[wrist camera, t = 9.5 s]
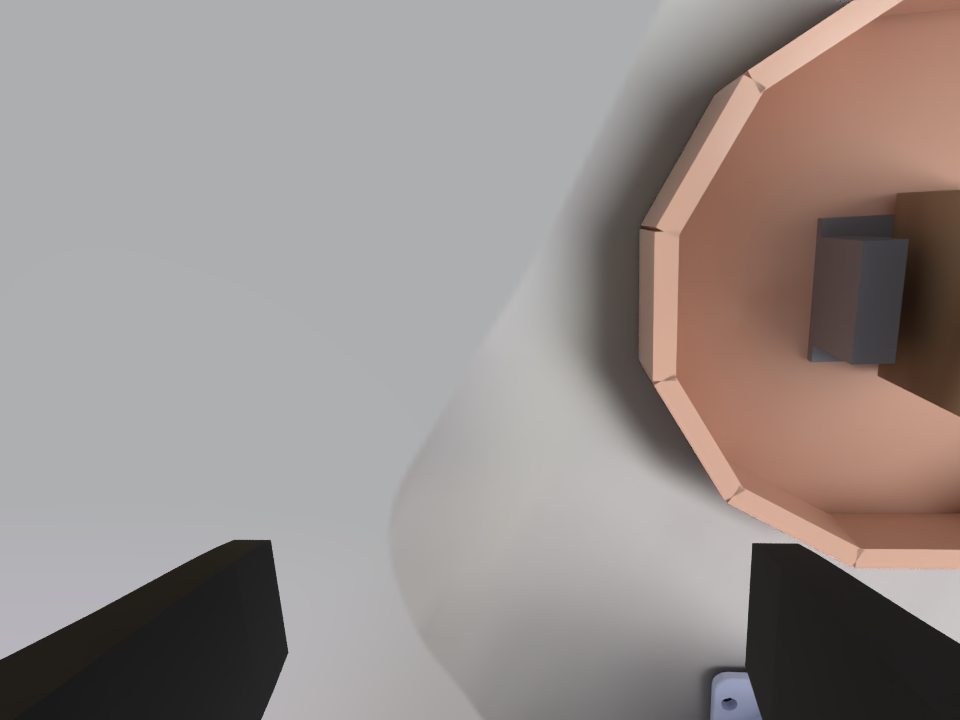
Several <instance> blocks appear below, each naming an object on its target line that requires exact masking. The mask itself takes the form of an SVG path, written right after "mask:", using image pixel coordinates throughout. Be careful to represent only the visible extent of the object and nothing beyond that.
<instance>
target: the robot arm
mask: <svg viewBox="0 0 960 720" xmlns="http://www.w3.org/2000/svg"><path fill="white" fill-rule="evenodd" d="M287 654H288V647H287V641H286V635H285V628H284V622H283V615H282V609H281V603H280V596H279V590H278V584H277V577H276V571H275V565H274V558H273V552H272V545H271V540H233V541H231V542H228V543H226V544H223V545H221V546H218V547H216V548H214V549H212V550H210V551H208V552H206V553H204V554H202V555H200V556H198V557H196V558H194V559H193V560H190V561H189V562H187V563H185V564H183V565H181V566H179V567H177V568H175V569H173V570H172V571H170V572H168V573H166V574H164V575H162V576H161V577H159V578H157V579H155V580H153V581H151V582H149V583H147V584H146V585H144V586H142V587H140V588H138V589H137V590H134V591H133V592H131V593H129V594H127V595H125V596H123V597H122V598H120V599H118V600H116V601H114V602H112V603H110V604H109V605H107V606H105V607H103V608H101V609H100V610H98V611H96V612H94V613H92V614H90V615H88V616H86V617H84V618H82V619H80V620H78V621H76V622H74V623H72V624H70V625H68V626H66V627H64V628H62V629H60V630H58V631H57V632H55V633H53V634H51V635H49V636H47V637H45V638H43V639H41V640H39V641H37V642H35V643H33V644H31V645H29V646H27V647H25V648H23V649H21V650H19V651H17V652H15V653H13V654H11V655H9V656H8V657H5V658H3V659H1V660H0V720H261V719H262V716H263V714H264V711H265V709H266V707H267V705H268V702H269V700H270V697H271V695H272V693H273V690H274V688H275V685H276V683H277V680H278V678H279V675H280V672H281V670H282V667H283V665H284V662H285V659H286V657H287ZM745 667H746V670H747V672H723V673H720V674H718V675H716V676H715V677H714V679H713V681H712V690H711V713H710V720H960V644H959V643H958V642H956V641H954V640H953V639H951V638H950V637H948V636H946V635H945V634H943V633H941V632H940V631H938V630H936V629H935V628H933V627H932V626H930V625H928V624H927V623H925V622H924V621H922V620H920V619H919V618H917V617H916V616H914V615H912V614H911V613H909V612H908V611H906V610H904V609H903V608H901V607H900V606H898V605H897V604H895V603H893V602H892V601H890V600H889V599H887V598H886V597H884V596H882V595H881V594H879V593H878V592H876V591H875V590H873V589H871V588H870V587H868V586H867V585H865V584H864V583H862V582H861V581H859V580H857V579H856V578H854V577H853V576H851V575H850V574H848V573H846V572H845V571H843V570H842V569H840V568H838V567H837V566H835V565H834V564H832V563H831V562H829V561H827V560H826V559H824V558H822V557H821V556H819V555H817V554H816V553H814V552H812V551H811V550H809V549H807V548H805V547H803V546H801V545H799V544H772V543H752V560H751V577H750V594H749V611H748V628H747V646H746V663H745ZM726 698H732V700H730V701H727V702H725V701H723V700H724V699H726Z"/></svg>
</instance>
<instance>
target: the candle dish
mask: <svg viewBox="0 0 960 720" xmlns="http://www.w3.org/2000/svg"><path fill="white" fill-rule="evenodd" d="M959 189H960V0H853V1H852V2H850V3H849V4H847V5H846V6H844V7H843V8H841V9H840V10H838V11H837V12H835V13H834V14H832V15H831V16H829V17H828V18H826V19H825V20H823V21H822V22H820V23H819V24H817V25H816V26H814V27H813V28H811V29H810V30H808V31H807V32H805V33H803V34H802V35H800V36H799V37H797V38H796V39H794V40H793V41H791V42H790V43H788V44H787V45H785V46H784V47H782V48H781V49H779V50H778V51H776V52H775V53H773V54H772V55H770V56H769V57H767V58H766V59H764V60H763V61H761V62H760V63H758V64H757V65H755V66H754V67H752V68H751V69H749V70H748V71H746V72H745V73H743V74H742V75H741V76H739V77H738V78H736V79H735V80H733V81H732V82H730V83H729V84H728V85H726V86H725V87H723V88H722V89H720V90H719V91H718V93H716V94H715V95H714V97H713V98H712V100H711V102H710V104H709V105H708V107H707V109H706V111H705V112H704V114H703V116H702V118H701V119H700V121H699V123H698V125H697V127H696V128H695V130H694V132H693V134H692V135H691V137H690V139H689V141H688V142H687V144H686V146H685V148H684V149H683V151H682V153H681V155H680V156H679V158H678V160H677V162H676V164H675V165H674V167H673V169H672V171H671V172H670V174H669V176H668V178H667V179H666V181H665V183H664V185H663V186H662V188H661V190H660V192H659V194H658V195H657V197H656V199H655V201H654V202H653V204H652V206H651V208H650V209H649V211H648V213H647V215H646V216H645V218H644V220H643V222H642V223H641V226H643V227H645V228H647V229H639V360H640V364H641V365H642V367H643V369H644V370H645V372H646V374H647V375H648V377H649V378H650V380H651V382H652V383H653V385H654V387H655V388H656V390H657V391H658V393H659V395H660V396H661V398H662V400H663V401H664V403H665V404H666V406H667V408H668V409H669V411H670V413H671V414H672V416H673V418H674V419H675V421H676V422H677V424H678V426H679V427H680V429H681V431H682V432H683V434H684V435H685V437H686V439H687V440H688V442H689V444H690V445H691V447H692V448H693V450H694V452H695V453H696V455H697V457H698V458H699V460H700V462H701V463H702V465H703V466H704V468H705V470H706V471H707V473H708V475H709V476H710V478H711V479H712V481H713V483H714V484H715V486H716V487H717V489H718V491H719V492H720V494H721V496H722V497H723V499H724V500H726V502H727V503H728V504H730V505H732V506H734V507H736V508H737V509H739V510H741V511H743V512H745V513H747V514H749V515H751V516H753V517H755V518H757V519H759V520H761V521H763V522H765V523H767V524H768V525H770V526H772V527H774V528H776V529H778V530H780V531H782V532H784V533H786V534H788V535H790V536H792V537H794V538H796V539H797V540H799V541H801V542H803V543H805V544H807V545H809V546H811V547H813V548H815V549H817V550H819V551H821V552H823V553H825V554H826V555H828V556H830V557H832V558H834V559H836V560H838V561H840V562H842V563H844V564H846V565H848V566H850V567H852V566H854V567H855V568H876V569H960V417H959V416H957V415H955V414H953V413H951V412H949V411H947V410H945V409H943V408H941V407H939V406H937V405H935V404H933V403H931V402H929V401H927V400H925V399H923V398H921V397H919V396H917V395H915V394H913V393H911V392H909V391H907V390H905V389H903V388H901V387H899V386H897V385H895V384H893V383H891V382H889V381H887V380H885V379H883V378H881V377H879V376H877V374H878V365H879V364H895V358H896V349H897V341H898V332H899V323H900V314H901V305H902V296H903V287H904V279H905V270H906V261H907V252H908V243H909V239H901V238H892V235H893V226H894V217H895V208H896V198H897V193H906V192H924V191H942V190H959Z"/></svg>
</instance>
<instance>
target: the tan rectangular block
mask: <svg viewBox="0 0 960 720" xmlns="http://www.w3.org/2000/svg"><path fill="white" fill-rule="evenodd" d="M892 238H901V239H909V243H908V252H907V261H906V270H905V279H904V287H903V296H902V305H901V314H900V323H899V332H898V341H897V349H896V358H895V364H879V365H878V374H877V376H879V377H881V378H883V379H885V380H887V381H889V382H891V383H893V384H895V385H897V386H899V387H901V388H903V389H905V390H907V391H909V392H911V393H913V394H915V395H917V396H919V397H921V398H923V399H925V400H927V401H929V402H931V403H933V404H935V405H937V406H939V407H941V408H943V409H945V410H947V411H949V412H951V413H953V414H955V415H957V416H959V417H960V189H959V190H942V191H924V192H906V193H897V198H896V208H895V217H894V226H893V235H892Z"/></svg>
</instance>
